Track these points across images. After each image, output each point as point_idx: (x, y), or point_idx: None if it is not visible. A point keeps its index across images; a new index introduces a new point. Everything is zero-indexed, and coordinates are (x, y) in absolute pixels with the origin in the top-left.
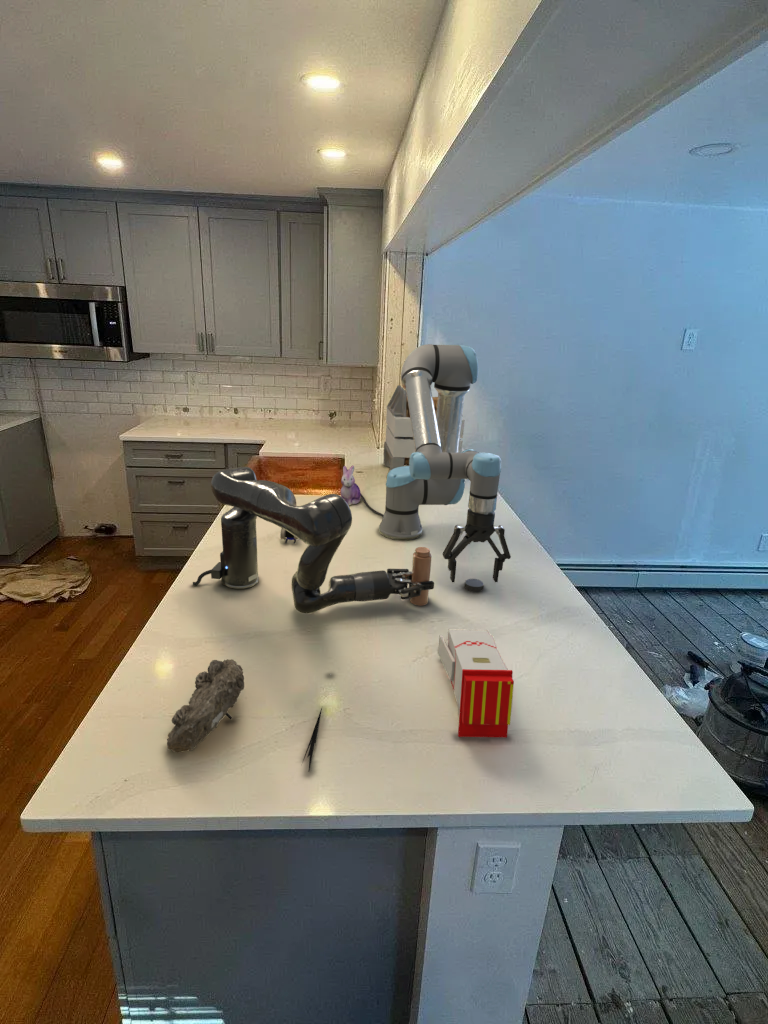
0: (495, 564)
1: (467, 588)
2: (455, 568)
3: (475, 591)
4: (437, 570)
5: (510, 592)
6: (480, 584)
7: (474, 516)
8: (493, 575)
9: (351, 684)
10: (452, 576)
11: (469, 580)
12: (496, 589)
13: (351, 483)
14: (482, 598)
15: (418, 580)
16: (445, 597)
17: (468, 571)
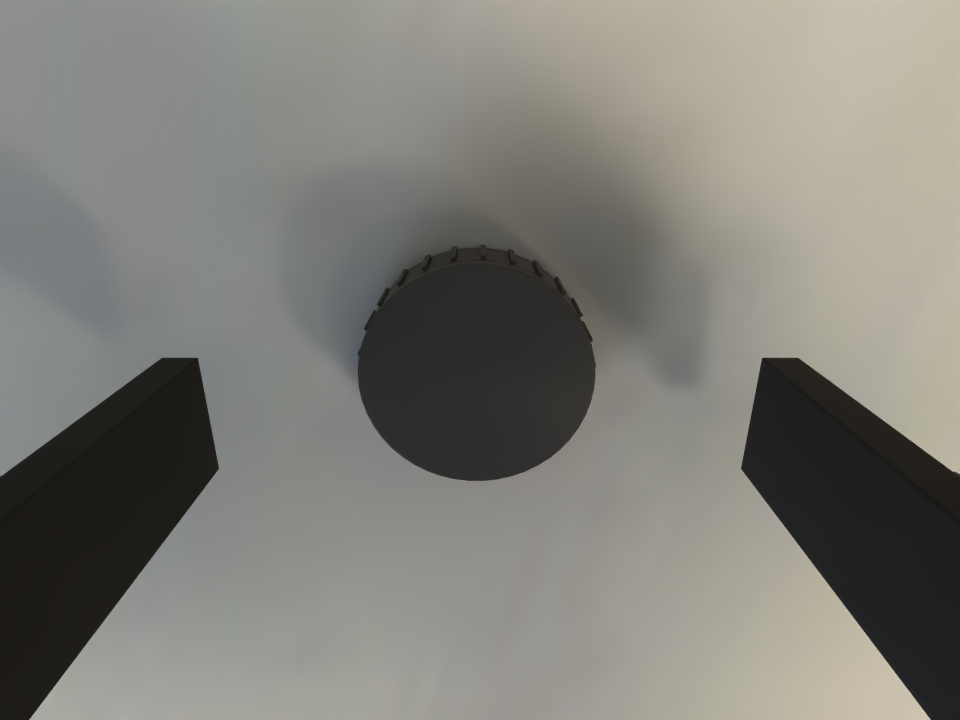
0: (64, 584)
1: (575, 302)
2: (912, 473)
3: (485, 247)
4: (741, 685)
5: (41, 234)
6: (406, 331)
7: None
8: (192, 473)
9: None
10: (846, 402)
11: (524, 435)
12: (211, 312)
13: None
14: (433, 70)
15: None
16: (919, 109)
17: (445, 668)
